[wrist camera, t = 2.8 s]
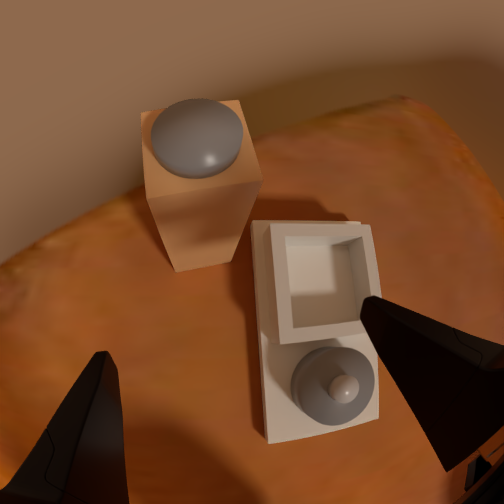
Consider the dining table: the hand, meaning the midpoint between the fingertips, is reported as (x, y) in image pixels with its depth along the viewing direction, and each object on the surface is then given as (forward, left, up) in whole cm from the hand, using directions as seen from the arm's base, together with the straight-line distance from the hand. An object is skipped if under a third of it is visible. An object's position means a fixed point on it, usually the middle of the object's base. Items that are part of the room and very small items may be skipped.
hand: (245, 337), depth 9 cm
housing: (+4, -7, -13) cm, 15 cm away
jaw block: (+6, +5, -13) cm, 15 cm away
